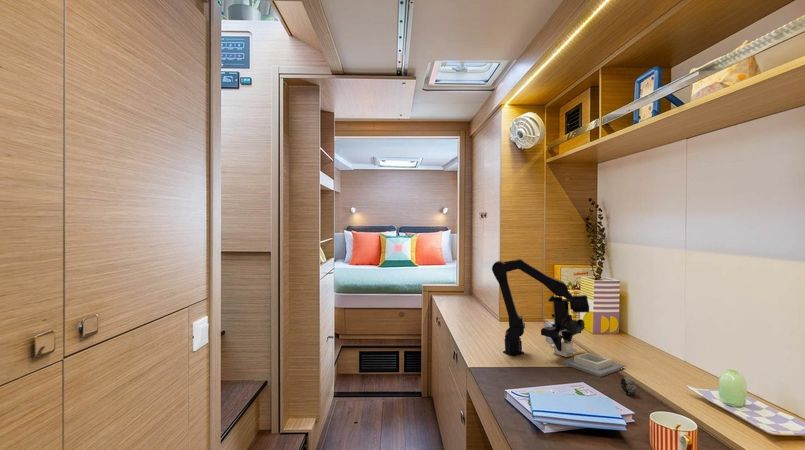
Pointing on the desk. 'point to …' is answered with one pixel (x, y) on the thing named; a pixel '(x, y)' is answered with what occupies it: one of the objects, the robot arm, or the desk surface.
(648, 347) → the desk surface
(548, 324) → the medicine box
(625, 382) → the dark grey lumpy piece
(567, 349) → the servo block
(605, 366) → the plate
